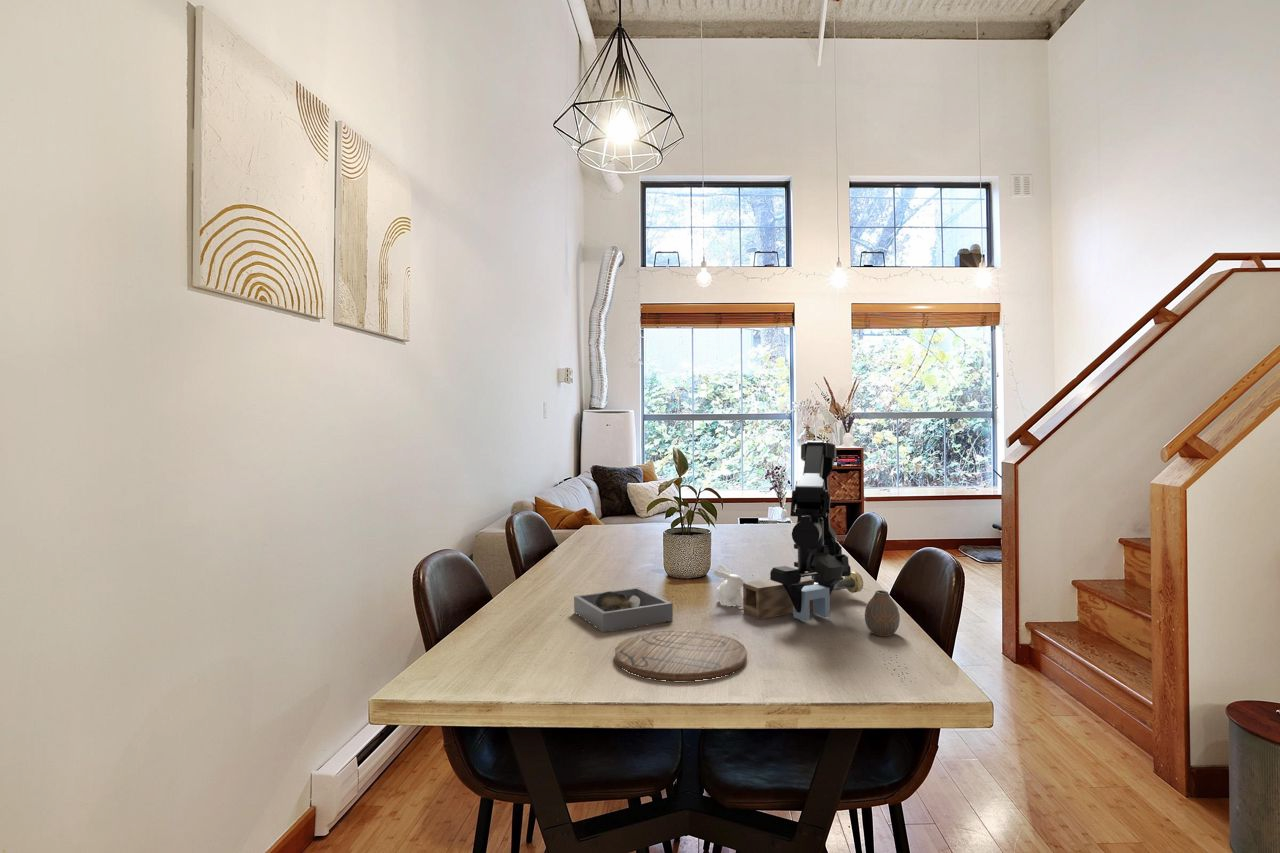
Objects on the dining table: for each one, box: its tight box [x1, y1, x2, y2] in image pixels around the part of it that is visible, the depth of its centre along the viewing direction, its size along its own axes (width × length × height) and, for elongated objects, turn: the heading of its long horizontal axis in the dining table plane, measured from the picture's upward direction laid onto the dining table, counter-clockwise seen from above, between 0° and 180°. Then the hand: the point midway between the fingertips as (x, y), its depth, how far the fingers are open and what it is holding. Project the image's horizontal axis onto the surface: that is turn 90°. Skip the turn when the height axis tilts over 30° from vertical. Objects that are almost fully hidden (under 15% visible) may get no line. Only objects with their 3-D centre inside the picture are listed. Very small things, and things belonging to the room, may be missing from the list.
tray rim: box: [573, 587, 674, 633], centre depth 160 cm, size 17×17×4 cm
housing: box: [742, 576, 814, 620], centre depth 163 cm, size 16×6×7 cm, turn 117°
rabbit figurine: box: [712, 564, 745, 610], centre depth 170 cm, size 12×8×10 cm, turn 6°
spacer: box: [792, 584, 831, 622], centre depth 156 cm, size 4×7×6 cm, turn 117°
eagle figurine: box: [595, 590, 640, 610], centre depth 158 cm, size 8×7×9 cm
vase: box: [864, 589, 901, 637], centre depth 145 cm, size 7×7×9 cm
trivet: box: [614, 629, 748, 681], centre depth 132 cm, size 25×25×2 cm
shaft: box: [814, 571, 864, 594], centre depth 169 cm, size 20×5×5 cm, turn 117°
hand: (811, 609), depth 156 cm, fingers closed on spacer, 7 cm apart
